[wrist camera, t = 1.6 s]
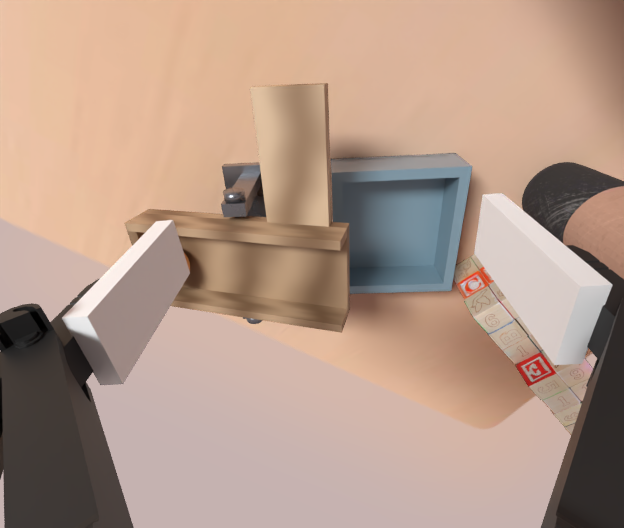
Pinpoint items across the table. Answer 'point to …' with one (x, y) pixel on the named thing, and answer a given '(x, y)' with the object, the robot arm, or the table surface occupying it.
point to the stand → (243, 194)
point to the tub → (401, 219)
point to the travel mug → (580, 210)
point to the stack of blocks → (522, 344)
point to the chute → (272, 226)
